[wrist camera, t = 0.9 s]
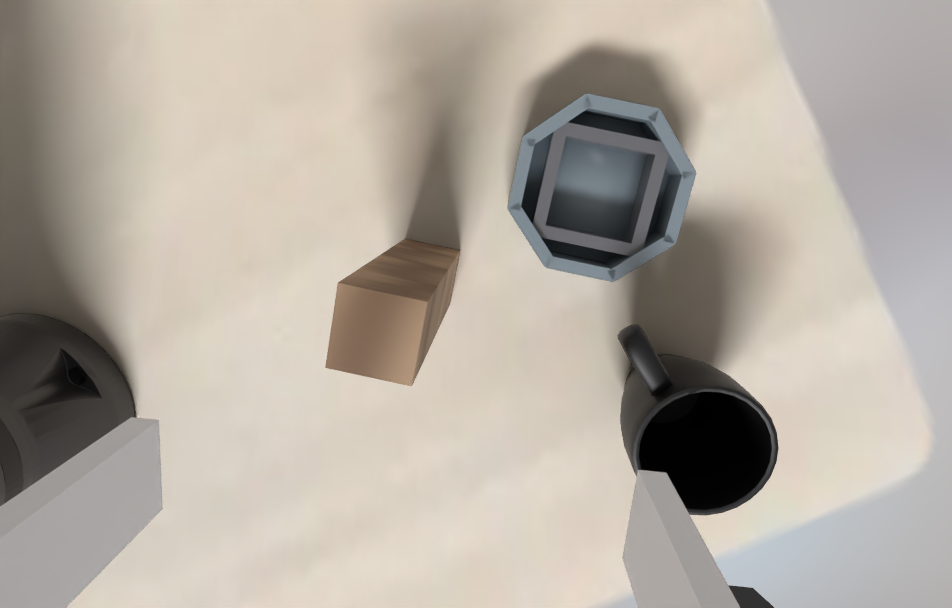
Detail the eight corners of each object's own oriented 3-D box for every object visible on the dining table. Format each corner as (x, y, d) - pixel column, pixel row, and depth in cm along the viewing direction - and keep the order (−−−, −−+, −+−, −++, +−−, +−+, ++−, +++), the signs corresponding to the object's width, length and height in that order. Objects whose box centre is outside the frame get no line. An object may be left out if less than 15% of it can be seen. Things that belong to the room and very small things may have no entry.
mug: (663, 270, 40) (708, 300, 31) (739, 409, 42) (804, 477, 33) (559, 327, 41) (573, 374, 32) (638, 459, 43) (672, 538, 34)
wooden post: (395, 292, 41) (325, 367, 26) (405, 238, 41) (338, 282, 25) (449, 304, 41) (411, 386, 26) (460, 250, 40) (427, 301, 25)
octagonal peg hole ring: (498, 249, 40) (496, 257, 37) (532, 90, 38) (534, 82, 34) (649, 281, 40) (661, 292, 37) (694, 123, 38) (711, 119, 34)
